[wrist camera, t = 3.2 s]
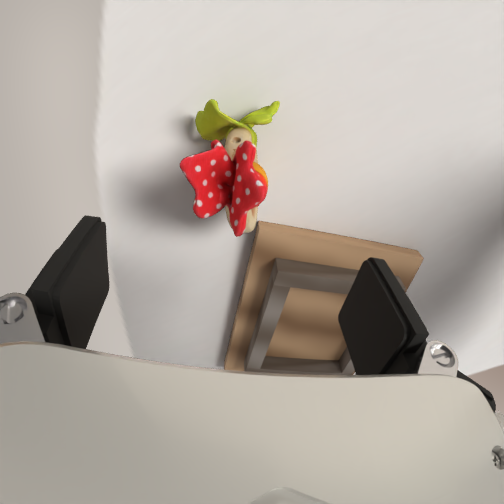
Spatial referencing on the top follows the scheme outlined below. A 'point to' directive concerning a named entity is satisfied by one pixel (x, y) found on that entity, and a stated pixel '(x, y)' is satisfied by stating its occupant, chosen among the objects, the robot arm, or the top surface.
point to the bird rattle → (229, 167)
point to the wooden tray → (302, 299)
